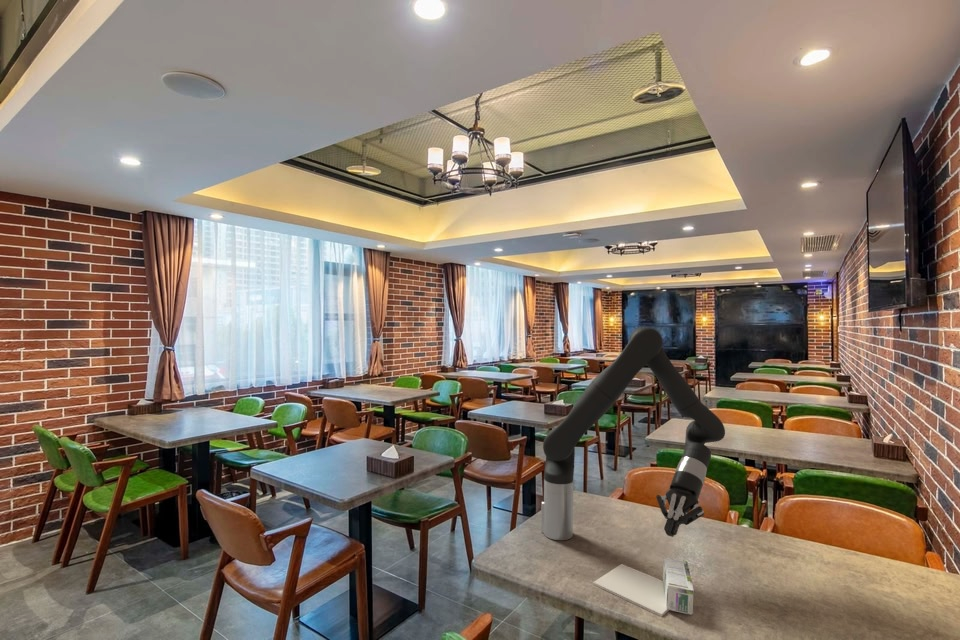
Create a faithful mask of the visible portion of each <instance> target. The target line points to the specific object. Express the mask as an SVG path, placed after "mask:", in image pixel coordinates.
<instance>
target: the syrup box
mask: <svg viewBox="0 0 960 640" xmlns="http://www.w3.org/2000/svg"><path fill="white" fill-rule="evenodd" d="M662 581H663V584H664V593H665V601H666V609H668V610H669V611H672V612H677V613H682V614H686V615H691V616H692V615H693V613H694V607H693V606H694V592H695V590H694V586H693V581H692V578H691V572H690V569H689V564H688V561H687V560H682V559H676V558H675V559H674V558H670V557H669V558H668V557H663V567H662Z"/></svg>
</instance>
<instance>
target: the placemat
mask: <svg viewBox="0 0 960 640" xmlns="http://www.w3.org/2000/svg"><path fill="white" fill-rule="evenodd" d="M592 584H593V586H595V587H596V588H597V587H598V589H599V588H600V589H602V590H604V591H606V592H608V593H610V594H612V595H615V596H617V597H619V598H621V599H623V600H625V601H627V602H630V603H632V604H633V605H635V606H637V607H640V608H641V609H644V610H646V611H648V612H649V613H650V612H651V613H653V614H654V615H657V616H658V617H661V618H662V617H663V616H665V615H666V614H667V613H668V612H669V611H670V610H668V609H666V601H665V593H664V584H663V579H659V578H657V577H654V576H652V575H649V574H647V573H644V572H643V571H640V570H637V569H634V568H633V567H629V565H626V564H623V563H621V564H619V565H617V566H616V567H615V568H613V569H612V570H610V571H609V572H607V573H605V574H604V575H602V576H600V577H599V578H598V579H596V580H594V581H593V582H592Z"/></svg>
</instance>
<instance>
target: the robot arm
mask: <svg viewBox="0 0 960 640" xmlns="http://www.w3.org/2000/svg"><path fill="white" fill-rule="evenodd" d="M663 343H664V342H663V338H662V334H661V333H660V332H659V331H658V330H656V329H655V328H652V327H650V326H638V327H637V328H635V329H633V330H632V331H631V333H630V335H629V338H628V343H627V344H626V345H625V347H624V348H623V350H622V351H621V353H620V354H619V355H618V357H617V358H615V359H614V361H613V362H612V363H610V364H609V365H607V367H606V368H604V369H603V370H602V371H601V372H600V373H599V374H597V375H596V377H595V378H594V379H593V380H592V381H591V382H590V383H589V384H588V386H587V387H586V388H585V390H583V392H582V393H581V395H580V396H579V398H578V399H577V400H576V401H575V404H574V405H573V407H572V408H571V410H570V411H569V413H568V414H567V416H566V417H565V418H564V419H563V420H562V421H561V422H560V423H559V424H558V425H557V426H556V427H555V428H553V429H551V430H550V431H549V432H548V433H547V434H546V435H545V437H544V439H543V443H542V450H543V453H544V455H545V465H544V471H543V472H544V473H543V475H544V476H543V501H541V504H540V505H541V506H540V507H541V509H540V512H541V513H540V518H541V519H540V532H541V533H542V534H543V535H544V536H545V537H546V538H548V539H551V540H555V541H568V540H569V539H572V538H573V536H574V473H575V457H576V456H575V454H576V452H575V450H576V449H575V447H576V446H577V444H578V443H579V441H580V440H581V439H582V437H584V435H585V434H586V432H588V431H589V429H590V428H592V427H593V426H594V425H595V424H596V423H598V421H599V420H600V419H601V418H602V417H603V416H604V415H605V414H606V413H607V412H608V411H609V410H610V409H611V407H612V406H613V405H615V403H616V401H617V400H619V398H620V397H621V396H622V394H623V393H624V391H625V390H626V389H627V388H628V386H629V385H630V384H631V382H632V380H633V379H634V378H635V376H636V375H638V373H639V372H641V370H642V369H643V368H644V367H645V366H646V365H647V367H648V368H649V369H650V370H651V372H652V373H653V374H654V376H655V378H656V379H657V380H658V382H659V384H660V385H661V388H662V389H663V391H664V393H665V394H666V395H667V397H668V399H669V400H670V402H671V403H672V404H673V406H674V408H675V409H676V410H677V412H678V413H679V415H680V416H682V417H684V418H689V419H692V421H691V422H690V423H688V425H687V426H686V430H685V441H684V442H685V443H684V444H685V445H684V446H685V447H684V450H683V453H682V455H681V458H680V460H679V462H678V464H677V467H676V468H675V471H674V474H673V477H672V480H671V482H670V485H669V489H668V490H667V491H666V492H665V494H664V495H660V494H656V496H655V499H656V500H657V504H658V505H659V508H660V509H659V510H660V511H661V514H662V515H663V516H664V518H665V519H666V522H665V525H664V527H663V528H664V531H665V534H666V535H667V536H668V537H672V538H674V537H675V536H676V535H677V534H678V530H679V527H680V526H681V525H685V526H688V525H690V524H691V523H693V522H694V521H697V520H698V519H700V518H701V517H703V516H704V515H705V512H704V510H703V508H702V506H700V505H699V498H700V495H701V491H702V489H703V486H704V483H705V482H706V480H705V479H706V476H707V470H708V468H709V465H710V462H711V458H712V451H711V450H710V448H709V447H707V446H706V445H705V444H709V443H715V442H720V441H722V440H723V439H724V438H725V435H726V428H725V426H724V424H723V422H722V420H721V419H720V418H719V417H718V416H717V415H716V414H715V413H714V412H713V411H712V410H711V409H709V408H708V407H707V406H706V405H705V404H704V403H703V402H702V401H701V400H700V399H699V397H698V396H697V394H696V393H695V391H694V389H692V387H691V386H690V384H689V383H688V382H687V380H686V379H685V378H684V377H683V375H682V374H681V373H680V372H679V371H678V369H677V368H676V367H675V365H674V364H673V363H672V361H671V360H670V359H669V357H668V355H667V354H666V352H665V350H664V347H663V345H664V344H663ZM667 503H668V509H667V507H666V505H667Z"/></svg>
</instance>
